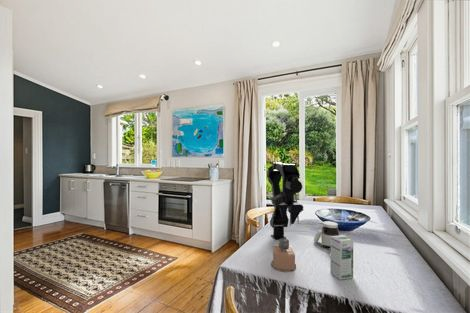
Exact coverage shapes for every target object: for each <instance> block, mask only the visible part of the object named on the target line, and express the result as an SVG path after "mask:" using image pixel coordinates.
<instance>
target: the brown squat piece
mask: <svg viewBox="0 0 470 313" xmlns="http://www.w3.org/2000/svg"><path fill="white" fill-rule="evenodd" d="M272 256H273V258H272V260H271V262H270V263H271V266H270V267H272V269H275V270H276V271H279V272H286V273H288V272H294V271H296V269H297V264H296V253H295V250H294V247H293V246H289V249H286V250H285V251H282V249H280V248H279V245H273V255H272Z"/></svg>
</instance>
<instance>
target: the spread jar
mask: <svg viewBox="0 0 470 313" xmlns="http://www.w3.org/2000/svg"><path fill="white" fill-rule="evenodd" d="M338 225H339V224H338V223H337V222H334V221H331V220H330V221H329V220H327V221H325V220H324V221H323V222H322V227H321V229H319V230H317V232H316V234H315V235H314V236H315V237H314V238H313V242H314V243H316V244H317V243H318V242H319V241H320V239H321V246H322V247H323V248H325V249H328V250H331V236H340V231H339V229H338V228H339V226H338Z"/></svg>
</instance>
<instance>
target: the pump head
mask: <svg viewBox="0 0 470 313" xmlns="http://www.w3.org/2000/svg"><path fill="white" fill-rule="evenodd" d="M278 246H279V248H280V249H282V251H285V250H286V249H289V247H290V240H289V239H287V238H286V239H284V238H282V239H279V240H278Z"/></svg>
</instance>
